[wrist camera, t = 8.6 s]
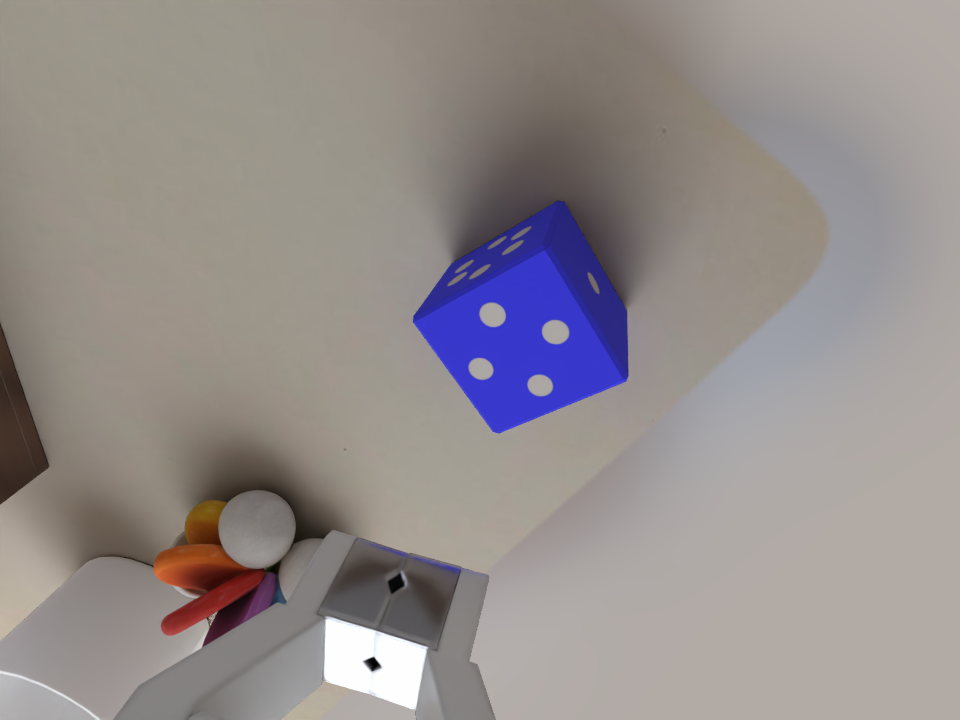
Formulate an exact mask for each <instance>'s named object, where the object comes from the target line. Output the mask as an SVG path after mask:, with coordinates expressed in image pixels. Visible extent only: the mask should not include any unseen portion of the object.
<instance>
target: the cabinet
mask: <svg viewBox="0 0 960 720" xmlns="http://www.w3.org/2000/svg"><path fill="white" fill-rule="evenodd" d="M47 468H48V464H47V461H46V458H45V455H44V452H43V449H42V446H41V443H40V440H39V438H38V435H37V432H36V429H35V426H34V423H33V420H32V417H31V414H30V411H29V408H28V405H27V402H26V399H25V397H24V394H23V391H22V388H21V385H20V382H19V379H18V376H17V373H16V370H15V367H14V364H13V361H12V359H11V356H10V353H9V350H8V347H7V344H6V341H5V338H4V335H3V332H2V329H1V326H0V504H2V503H3V502H4V501H6V500H7V499H8V498H9V497H11V496H12V495H13V494H15V493H16V492H17V491H19V490H20V489H21V488H23V487H24V486H25V485H26V484H28V483H29V482H30V481H32V480H33V479H34V478H36V477H37V476H38V475H39V474H41V473H42V472H43V471H45V470H46V469H47Z"/></svg>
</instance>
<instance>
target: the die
mask: <svg viewBox="0 0 960 720" xmlns="http://www.w3.org/2000/svg"><path fill="white" fill-rule="evenodd" d="M413 323H414V324H415V325H416V327H417V328H418V329H419V331H420V332H421V334H422V335H423V336H424V338H425V339H426V340H427V342H428V343H429V345H430V346H431V347H432V349H433V350H434V351H435V353H436V354H437V356H438V357H439V358H440V360H441V361H442V362H443V364H444V365H445V367H446V368H447V369H448V371H449V372H450V373H451V375H452V376H453V377H454V379H455V380H456V382H457V383H458V384H459V386H460V387H461V388H462V390H463V391H464V393H465V394H466V395H467V397H468V398H469V399H470V401H471V402H472V404H473V405H474V406H475V408H476V409H477V410H478V412H479V413H480V415H481V416H482V417H483V419H484V420H485V421H486V423H487V424H488V425H489V427H490V428H491V430H492V431H493V432H495V433H501V432H503V431H506V430H508V429H511V428H513V427H516V426H518V425H521V424H523V423H526V422H528V421H530V420H533V419H535V418H538V417H540V416H543V415H545V414H548V413H550V412H552V411H555V410H557V409H560V408H562V407H565V406H567V405H570V404H572V403H574V402H577V401H579V400H582V399H584V398H587V397H589V396H592V395H594V394H597V393H599V392H601V391H604V390H606V389H609V388H611V387H614V386H616V385H619V384H621V383H623V382H626V381H627V378H628V336H627V310H626V308H625V307H624V305H623V303H622V301H621V300H620V298H619V296H618V294H617V293H616V291H615V289H614V288H613V286H612V284H611V282H610V281H609V279H608V277H607V275H606V274H605V272H604V270H603V268H602V267H601V265H600V263H599V261H598V260H597V258H596V256H595V254H594V253H593V251H592V249H591V247H590V246H589V244H588V242H587V241H586V239H585V237H584V235H583V234H582V232H581V230H580V228H579V227H578V225H577V223H576V221H575V220H574V218H573V216H572V214H571V213H570V211H569V209H568V207H567V206H566V204H565V202H562V201H557V202H555V203H554V204H552V205H550V206H548V207H547V208H545V209H543V210H542V211H540V212H538V213H537V214H535V215H533V216H531V217H530V218H528V219H526V220H525V221H523V222H521V223H520V224H518V225H516V226H515V227H513V228H511V229H509V230H508V231H506V232H504V233H503V234H501V235H499V236H498V237H496V238H494V239H493V240H491V241H489V242H487V243H486V244H484V245H482V246H481V247H479V248H477V249H476V250H474V251H472V252H470V253H469V254H467V255H465V256H464V257H462V258H460V259H459V260H457V261H455V262H454V263H452V264H451V265H450V266H449V268H448V269H447V271H446V272H445V273H444V275H443V276H442V278H441V279H440V280H439V282H438V283H437V284H436V286H435V287H434V289H433V290H432V291H431V293H430V294H429V296H428V297H427V298H426V300H425V301H424V302H423V304H422V305H421V307H420V308H419V309H418V311H417V312H416V314H415V315H414V317H413Z"/></svg>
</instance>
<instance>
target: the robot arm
mask: <svg viewBox="0 0 960 720" xmlns="http://www.w3.org/2000/svg"><path fill="white" fill-rule="evenodd" d="M461 569H462V570H461ZM488 582H489V576H488V575H486V574H482V573H479V572H475V571H472V570H468V569H465V568H462V567H460V566H457V565H453V564H449V563H446V562H442V561H439V560H435V559H431V558H428V557H424V556H420V555H417V554H413V553H405V552H402V551H399V550H396V549H393V548H390V547H387V546H384V545H381V544H377V543H374V542H371V541H368V540H365V539H362V538H359V537H356V536H352V535H349V534H346V533H342V532H339V531H335V530H332V531H331V532H330V533H329V534H328V535H327V536H326V537H325V538H324V540H323V542H322V544H321V545H320V547H319V549H318V550H317V552H316V554H315V555H314V557H313V559H312V560H311V562H310V564H309V565H308V567H307V569H306V571H305V572H304V574H303V576H302V577H301V579H300V581H299V582H298V584H297V586H296V587H295V589H294V591H293V592H292V594H291V596H290V598H289V599H288V601H287V603H286V604H285V605H284V604H281V603H276V604H274V605H273V606H271V607H269V608H268V609H266V610H264V611H262V612H261V613H259V614H257V615H256V616H254V617H252V618H251V619H249V620H247V621H246V622H244V623H242V624H241V625H239V626H237V627H236V628H234V629H232V630H231V631H229V632H227V633H226V634H224V635H222V636H221V637H219V638H217V639H216V640H214V641H212V642H211V643H209V644H207V645H206V646H204V647H202V648H201V649H199V650H197V651H196V652H194V653H192V654H191V655H189V656H187V657H185V658H184V659H182V660H180V661H179V662H177V663H175V664H174V665H172V666H170V667H169V668H167V669H165V670H164V671H162V672H160V673H159V674H157V675H155V676H154V677H152V678H150V679H149V680H147V681H145V682H144V683H142V684H140V685H139V686H138V687H137V688H136V689H135V691H134V692H133V693H132V695H131V696H130V697H129V699H128V700H127V701H126V703H125V704H124V705H123V707H122V708H121V709H120V711H119V712H118V713H117V715H116V716H115V717H114V719H113V720H280V719H282V718H283V717H284V716H285V715H286V714H287V713H289V712H290V711H291V710H292V709H293V708H295V707H296V706H297V705H298V704H299V703H300V702H302V701H303V700H304V699H305V698H306V697H307V696H309V695H310V694H311V693H312V692H313V691H315V690H316V689H317V688H318V687H319V686H320V685H322V681H326V682H329V683H333V684H336V685H340V686H343V687H347V688H350V689H354V690H357V691H361V692H364V693H368V694H371V695H374V696H377V697H379V698H382V699H385V700H388V701H391V702H394V703H397V704H399V705H402V706H405V707H408V708H411V709H413V710H415V716H416V720H496V719H495V716H494V713H493V710H492V707H491V704H490V701H489V698H488V695H487V692H486V689H485V686H484V683H483V680H482V677H481V674H480V671H479V667H478V665H477V664H475V663H472V662H470V661H469V660H470V656H471V652H472V648H473V644H474V640H475V635H476V631H477V627H478V623H479V618H480V615H481V611H482V607H483V602H484V598H485V594H486V590H487V585H488Z"/></svg>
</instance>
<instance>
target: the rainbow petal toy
mask: <svg viewBox="0 0 960 720" xmlns="http://www.w3.org/2000/svg"><path fill="white" fill-rule="evenodd" d="M295 530H296V523H295V517H294V514H293V512H292V509H291V508H290V506H289V505H288V504H287V502H286V501H285V500H284V499H282V498H281V497H280V496H278V495H276V494H274V493H272V492H269V491H263V490H253V491H247V492H244V493H241V494H239V495H237V496H235V497H234V498H233V499H231V500H230V501H229V502H228V503H226V502H223V501H217V500H208V501H204V502H201V503H199V504H198V505H197V506H196V507H194V508H193V509H192V510H191V511H190V513H189V514H188V516H187V519H186V522H185V531H184V532H183V533H181V534H180V535H179V536H178V537H177V538H176V539H175V541H174V542H173V544H172V545H171V547H170V549H167V550H164V551H163V552H161V553H159V555H158V556H157V557H156V559H155V562H154V567H153V570H154V574H155V576H156V577H157V578H158V579H159V580H161V581H162V582H164V583H167V584H169V585H172V586H173V587H174V588H175V589H176V590H177V591H178V592H180V593H181V594H183V595H185V596H188V597H191V598H196V599H195V600H193V601H191V602H189V603H187V604H186V605H184V606H182V607H181V608H179V609H177V610H175V611H174V612H172V613H170V614H168V615H167V616H166V617H165V618H164V619H163V620H162V623H161V630H162V632H163V633H164V634H165V635H167V636H173V635H176V634H178V633H180V632H182V631H184V630H186V629H188V628H189V627H191V626H193V625H195V624H197V623H198V622H200V621H202V620H204V619H205V618H207V617H209V616H211V615H212V614H214V613H215V612H217V611H218V612H217V614H216V616H215V618H214V620H213V622H212V624H211V627H210V629H209V631H208V633H207V635H206V637H205V639H204V642H203V645H202V647H204V646H206V645H207V644H209V643H211V642H212V641H214V640H216V639H217V638H219V637H221V636H222V635H224V634H226V633H227V632H229V631H231V630H232V629H234V628H236V627H237V626H239V625H241V624H242V623H244V622H246V621H247V620H249V619H251V618H252V617H254V616H256V615H257V614H259V613H261V612H262V611H264V610H266V609H268V608H269V607H271V606H273V605H274V604H276V603H281V604H284V605H285V604H286V603H287V601H288V599H289V598H290V596H291V594H292V592H293V591H294V589H295V587H296V586H297V584H298V582H299V581H300V579H301V577H302V576H303V574H304V572H305V571H306V569H307V567H308V565H309V564H310V562H311V560H312V559H313V557H314V555H315V554H316V552H317V550H318V549H319V547H320V545H321V544H322V542H323V540H324V539H319V538H311V539H305V540H301V541H299V542H297V543H295V544H293V543H292V542H293V539H294V536H295ZM267 567H269V568H267ZM264 568H267V569H265V570H264Z"/></svg>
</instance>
